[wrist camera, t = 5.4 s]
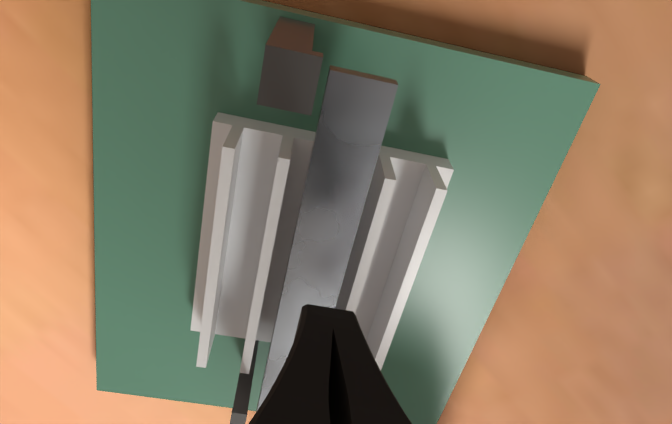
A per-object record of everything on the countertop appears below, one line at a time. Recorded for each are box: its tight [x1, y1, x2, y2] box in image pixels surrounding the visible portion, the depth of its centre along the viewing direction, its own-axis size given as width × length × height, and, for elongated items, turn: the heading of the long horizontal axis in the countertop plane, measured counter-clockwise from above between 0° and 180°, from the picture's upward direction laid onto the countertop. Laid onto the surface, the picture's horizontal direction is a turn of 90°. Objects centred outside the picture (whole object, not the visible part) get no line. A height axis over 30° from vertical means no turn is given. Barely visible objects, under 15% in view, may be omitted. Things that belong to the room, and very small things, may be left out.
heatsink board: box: [91, 0, 600, 424], centre depth 20 cm, size 20×18×6 cm
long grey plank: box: [256, 65, 398, 412], centre depth 18 cm, size 15×2×1 cm, turn 167°
